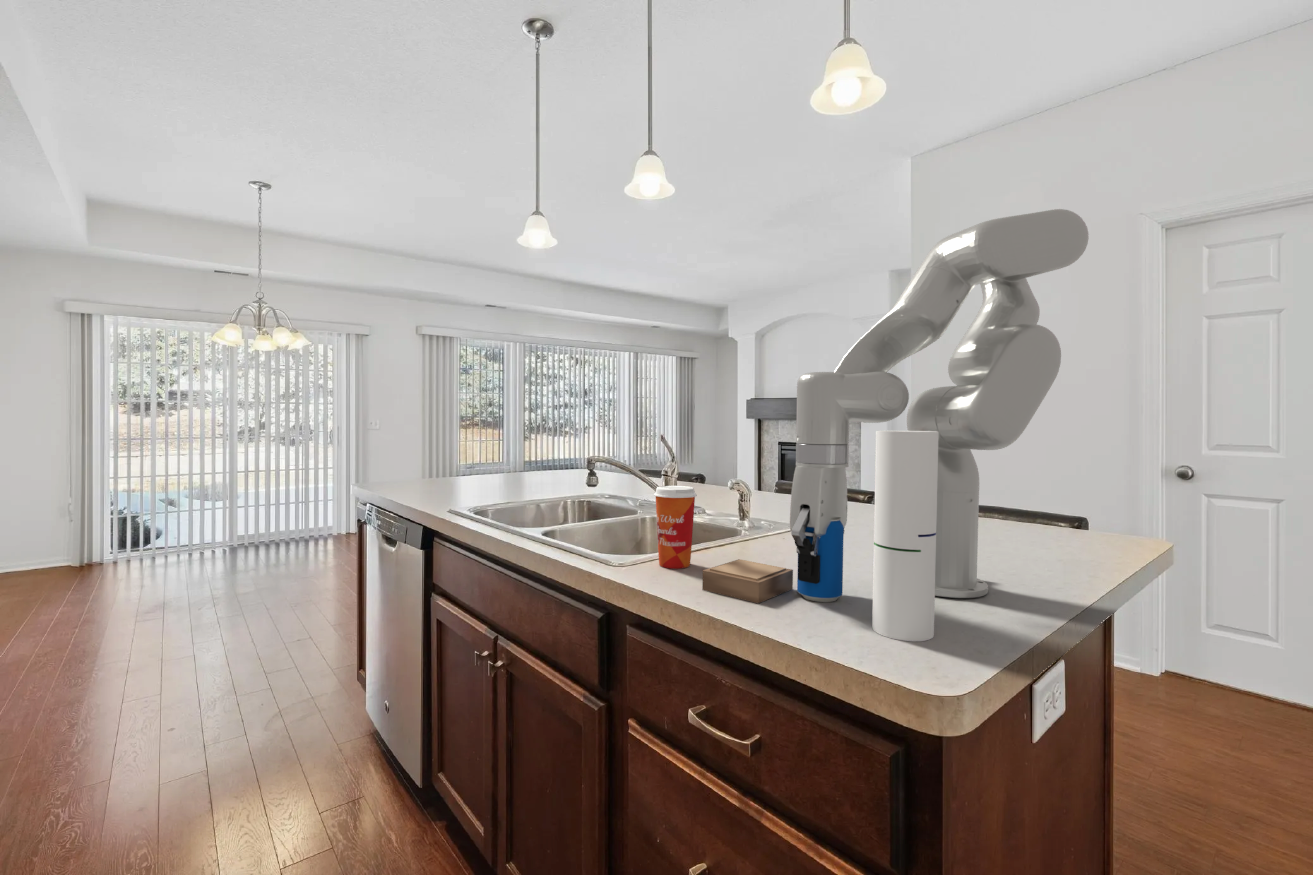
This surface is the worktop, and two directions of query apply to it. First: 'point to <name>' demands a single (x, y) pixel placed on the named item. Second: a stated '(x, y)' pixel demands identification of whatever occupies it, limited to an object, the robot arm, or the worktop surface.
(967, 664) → the worktop surface
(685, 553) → the paper cup
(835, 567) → the beverage can
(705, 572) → the plinth
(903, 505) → the cylindrical container
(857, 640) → the worktop surface
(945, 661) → the worktop surface
